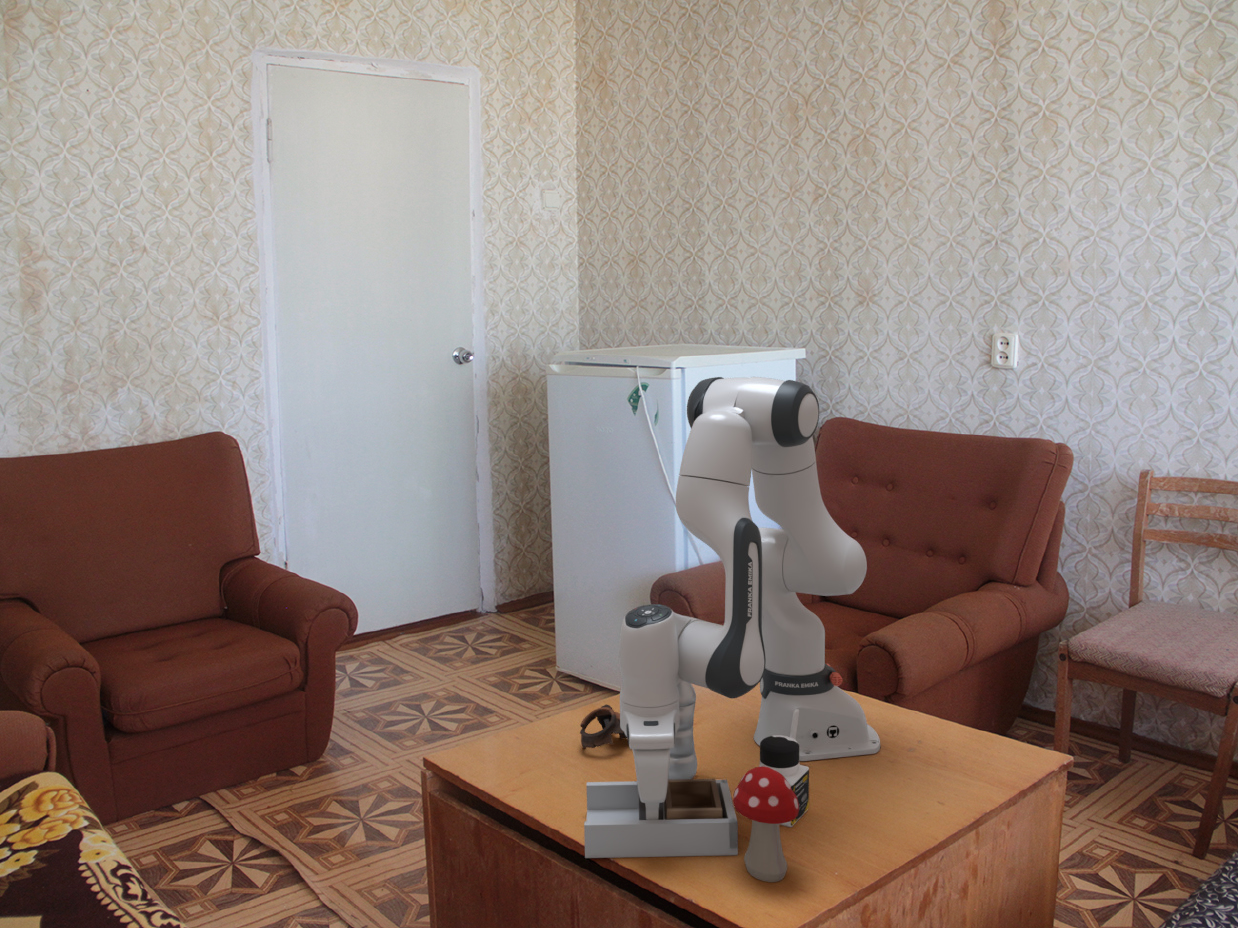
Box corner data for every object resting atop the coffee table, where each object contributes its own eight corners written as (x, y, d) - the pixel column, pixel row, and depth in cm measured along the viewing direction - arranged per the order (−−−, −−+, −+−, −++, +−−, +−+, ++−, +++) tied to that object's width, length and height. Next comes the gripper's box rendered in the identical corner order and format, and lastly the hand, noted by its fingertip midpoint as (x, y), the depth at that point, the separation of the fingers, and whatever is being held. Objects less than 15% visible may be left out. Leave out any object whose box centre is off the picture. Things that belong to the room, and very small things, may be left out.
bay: (727, 809, 163) (726, 779, 162) (737, 854, 149) (737, 822, 149) (587, 812, 163) (586, 782, 162) (585, 857, 149) (584, 825, 148)
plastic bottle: (671, 790, 170) (670, 673, 167) (651, 774, 176) (649, 661, 173) (705, 781, 173) (704, 666, 170) (684, 766, 179) (683, 655, 176)
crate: (715, 807, 161) (715, 765, 160) (722, 841, 151) (722, 795, 150) (638, 809, 161) (637, 766, 160) (640, 842, 151) (639, 797, 150)
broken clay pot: (643, 757, 185) (623, 724, 181) (596, 780, 185) (575, 748, 182) (634, 716, 196) (614, 684, 192) (589, 738, 196) (569, 707, 193)
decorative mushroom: (812, 878, 143) (813, 775, 141) (763, 896, 138) (763, 790, 136) (767, 847, 151) (767, 749, 149) (719, 863, 147) (719, 763, 145)
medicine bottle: (791, 828, 157) (792, 752, 155) (748, 817, 161) (748, 743, 159) (809, 809, 163) (810, 736, 161) (767, 798, 167) (767, 727, 165)
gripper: (627, 691, 164) (628, 773, 166) (629, 743, 144) (631, 837, 146) (667, 690, 164) (668, 773, 166) (675, 742, 144) (676, 836, 146)
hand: (650, 803), depth 155 cm, fingers open, 8 cm apart
